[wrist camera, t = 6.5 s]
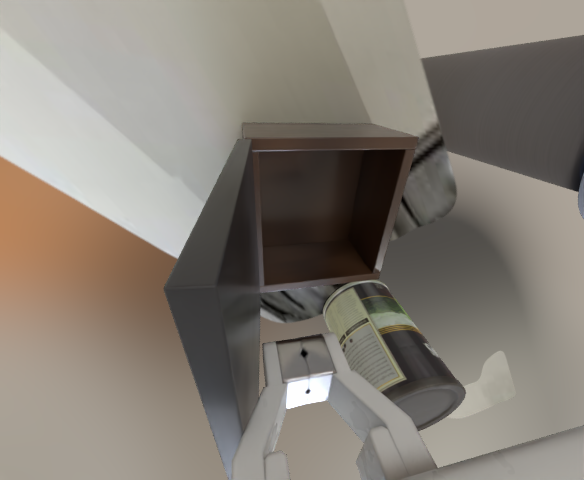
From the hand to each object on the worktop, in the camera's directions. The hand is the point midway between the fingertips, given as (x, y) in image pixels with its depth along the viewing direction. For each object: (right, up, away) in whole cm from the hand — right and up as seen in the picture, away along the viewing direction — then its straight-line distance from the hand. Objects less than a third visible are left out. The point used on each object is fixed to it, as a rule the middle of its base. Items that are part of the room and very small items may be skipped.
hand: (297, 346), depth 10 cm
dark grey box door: (-2, +2, +2) cm, 3 cm away
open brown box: (+1, +9, +14) cm, 17 cm away
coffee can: (+9, -5, +25) cm, 27 cm away
